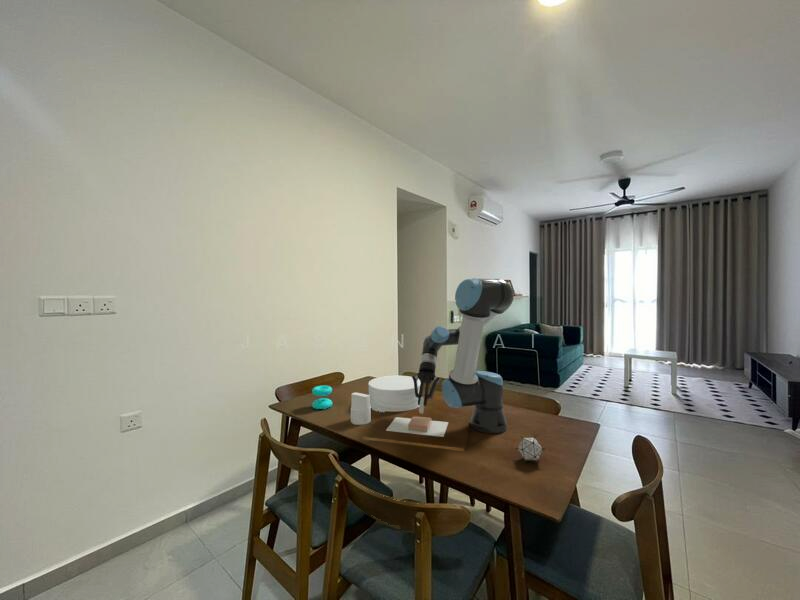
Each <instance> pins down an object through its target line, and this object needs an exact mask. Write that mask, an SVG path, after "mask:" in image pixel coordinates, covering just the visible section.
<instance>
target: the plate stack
mask: <svg viewBox="0 0 800 600" xmlns="http://www.w3.org/2000/svg"><path fill="white" fill-rule="evenodd" d="M420 384H421V382H420V380H419V378H418V380H417V387H418V394H419V390H420ZM368 395H370V407H371V408H372V409H371V410H372V411H375V412H378V411H379V413H382V412H383V414H384V413H385V412H392V413H393V412H407V411H411V410H412V411H413V410H415V409H417V408H418V409H419V406H420V405H418V397H416V396H415V390H414V381H413V378H412V376H410V375H409V376H408V375H385V376H383V375H382V376H378V377H375V378H372V379H371V380H369V381H368Z"/></svg>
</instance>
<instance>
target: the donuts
mask: <svg viewBox="0 0 800 600" xmlns="http://www.w3.org/2000/svg"><path fill="white" fill-rule="evenodd" d="M311 392H312V393H311V394H312V395H314V396H316V397H322V398H317V399H315V400H314V401H313V402H312V403H311V406H312V408H313V409H315V410H318V409H323V410H327V408H328V409H330V408H331V407H332V406H333V401H332V400H331V399H329V398H323V397H326V396H329V395H330V394H331V393H333V388H332V387H331V386H329V385H317V386H314V387H313V388H312V389H311ZM329 407H330V408H329Z"/></svg>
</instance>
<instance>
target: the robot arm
mask: <svg viewBox="0 0 800 600" xmlns="http://www.w3.org/2000/svg"><path fill="white" fill-rule="evenodd" d="M514 297H515V294H514V290H513V288H512V286H511V285H510V284H509V283H508V282H507V281H505V280H503V279H502V278H475V277H474V278H466V279H464V280H462V281H461V282H460V283H459V284H458V286H457V287H456V291H455V295H454V300H455V305H456V307H457V308H458V311H459V313H460V315H461V316H462V318H461V323H460V324H461V325H460V326H459V327H457V328H451V329H448V328H447V327H445V326H442V325H438V326H436V327H435V328H434V329H433V330H432V331H431V333H430V335H427V336H425V338H424V339H423V340H424V341H423V344H422V345H423V346H422V352H421V357H420V361H419V362H420V364H419V368H418V373H417V375H412V376H411V377H412V378H413V381H414V390H415V396H416V397H418V405H420V406H419V407H418V412H419V415H424V410H425V407H427V405H428V400H429V399H432V398H433V396H434V395H435V391H436V388H437V386H438V385H439V383H440V382H441V381H440V377H437V376H436V366H437V360H438V353H439V350H440V349H441V348H442V347H444V346H453V345H454V346H456V345H457V349H456V355H455V361H454V366H453V367H454V368H453V369H452V370H450V372H449V375H448V378H446V379H444V380H443V381H442V382H441V393H442V397H443V399H444V401H445V403H446V404H447V406H448V407H450V408H452V409H461V408H464V407H470V406H474V410H473V412H472V415H471V418H470V426H471V428H472V429H474V430H476V431H477V432H481V433H486V434H500V433H503V432H506V431H507V430H508V421H507V418H506V415H505V411H504V409H503V408H504V403H503V402H504V401H503V399H504V398H503V397H504V391H503V389H504V383H503V382H504V381H503V377H502V376H501V374H498V373H495V372H491V371H485V370H477V365H478V360H479V353H480V349H481V343H482V338H483V337H482V336H483V334H484V327H485V326H487V324H489V323H490V321H492V320H493V319H495V317H497V316H498V315H502V314H503V313H505V312H507V310H508V309H509V308H510V307H511V306H512V303H513V301H514ZM418 379H419V380H420V382H421V384H420V390H419V394H418V387H417V380H418ZM432 382H433V383H432ZM431 383H432V385H431ZM430 386H431V388H430ZM424 389H425V390H424ZM423 393H424V394H423Z"/></svg>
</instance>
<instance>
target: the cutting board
mask: <svg viewBox="0 0 800 600" xmlns="http://www.w3.org/2000/svg"><path fill="white" fill-rule="evenodd" d="M411 419H412V418H408V417H396V416H395V417H394V419H393V420H392V422H390V424H389V426H388V427H387V428H386V430H385V431H386V432H395V433H405V434H414V435H421V436H422V435H423V436H432V437H441V438H444V437H445V433H446V432H447V428H448V425H449V421H439V420H431V425H430V428H429V430H428V432H421V431H412V430H408V424H409V422H410V421H411Z"/></svg>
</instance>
